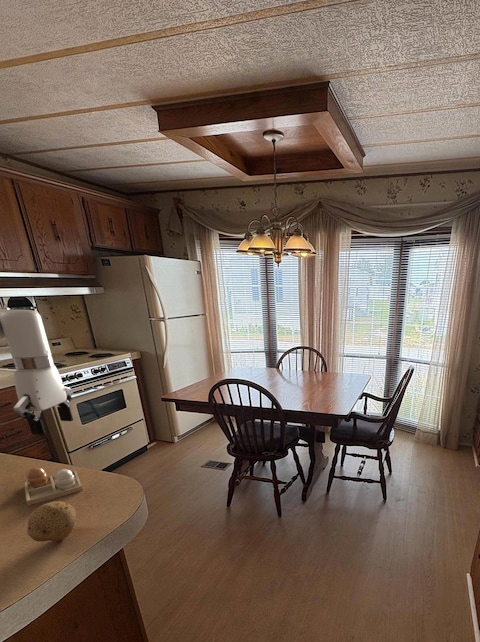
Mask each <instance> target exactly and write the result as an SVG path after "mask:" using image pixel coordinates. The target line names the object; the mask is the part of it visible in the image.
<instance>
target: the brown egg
mask: <svg viewBox="0 0 480 642" xmlns="http://www.w3.org/2000/svg"><path fill="white" fill-rule="evenodd" d="M25 477H26V480H27V482H28V483H29V485H30V486H31V487H33V488H34V489H35V488H39V487H43V486H46V484H47V482H48V478H47V477H48V475H47V472H46V470H45V469H44V468H42V467H39V466H35V467H31V468H29V469H28V470H27V472H26V474H25Z"/></svg>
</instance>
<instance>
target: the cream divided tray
mask: <svg viewBox="0 0 480 642" xmlns="http://www.w3.org/2000/svg"><path fill="white" fill-rule="evenodd" d="M70 471H71V472H72V473H73V476H74V479H75V484H74V486H73V488H70V489H67V490H63V491H62V490H61V489H59V488H58V487H57V485H56V482H55V478H54V476H55V474H53V475H49V476H48V475H47V478H48V482H47V484H46V486H43V487H39V488H35V489H34V488H33V487H31V486H30V485H29V483H28V481H25V482H23V484H24V492H25V502H26V505H27V506H31V505H35V504H39V503H42V502H46V501H49V500H53V499H57V498H60V497H63V496H67V495H71V494H74V493H77V492H82V491H83V486H82V483H81V481H80V479H79V475H78V473H77V470H76V469H74V470H70Z"/></svg>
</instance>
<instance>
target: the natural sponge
mask: <svg viewBox="0 0 480 642" xmlns="http://www.w3.org/2000/svg"><path fill="white" fill-rule="evenodd" d="M76 519H77V513H76V510H75V508H74V507H73V506H72V505H71V504H70V503H67V502H64V501H60V500H59V501H58V500H57V501H51V502H47V503H44V504H42V505H40V506H38V507H37V508H35V510H33V511H32V513H31V514H30V515H29V517H28V521H27V534H28V536H29V537H30V538H31V539H32V540H33V541H35V542H41V543H43V542H48V541H49V542H50V541H51V542H59V541H63V540H66V538H67V537H68V536H69V535H70V534H71V533H72V532H73V530H74V528H75V525H76Z"/></svg>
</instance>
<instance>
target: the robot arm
mask: <svg viewBox="0 0 480 642" xmlns="http://www.w3.org/2000/svg"><path fill="white" fill-rule="evenodd" d="M1 341H6V342H7V345H8V349H9V352H10V355H11V358H12V362H13V364H14V368H15V370H14V371H13V380H14V385H15V386H14V387H15V392H16V395H17V400H18V402H17V403H16V404H15V405H13V410H14V412H15V413H17V414H18V416H19V417H20V418H22V419H24V421H27V423H28V426H29V429H30V433H31V434H32V435H37V436H44V435H46V434H47V431H46V428H45V426H44V425H45V424H44V422H43V420H42V418H41V414H42V411H45V410H47V409H50V408H53V407H55V406H57V408H56V409H57V413H58V416H59V420H60V421H61V422H73V421H74V418H73V414H72V409H71V406H72V402H71V401H72V398H73V397H72V391H73V390H72V387H68V386H65V385H64V381H63V379H62V377H61V375H60V372H59V369H58V368H57V366H56V365H55V362H54V358H53V357H54V356H52V351H51V348H50V343H49V340H48V337H47V335H46V330H45V326H44V323H43V320H42V316H41V314H40V313H39V312H38V311H37V310H32V309H5V308H0V342H1ZM33 412H34V413H33ZM40 418H41V419H40Z"/></svg>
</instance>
